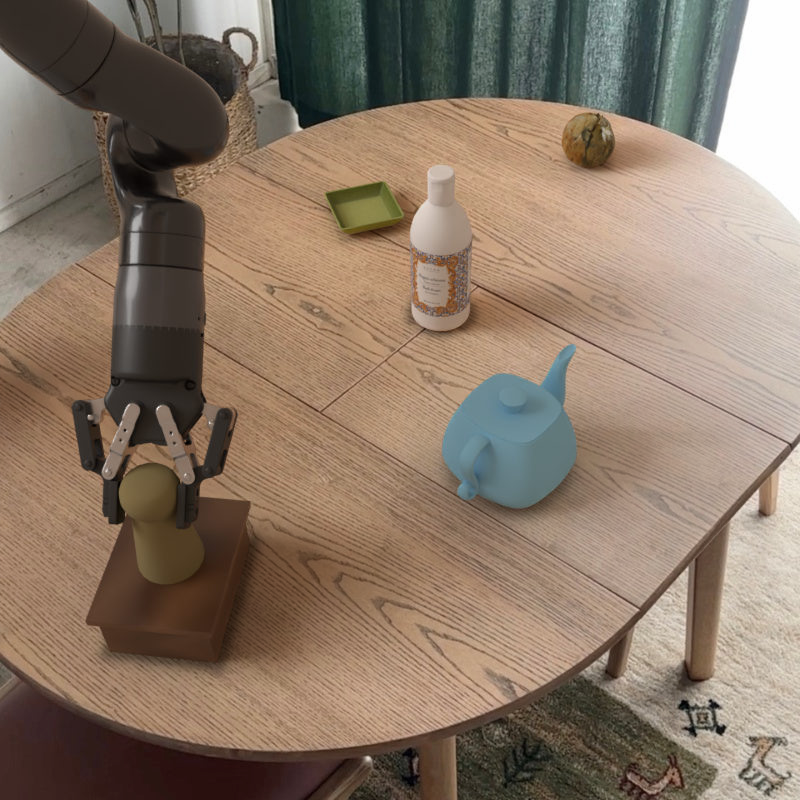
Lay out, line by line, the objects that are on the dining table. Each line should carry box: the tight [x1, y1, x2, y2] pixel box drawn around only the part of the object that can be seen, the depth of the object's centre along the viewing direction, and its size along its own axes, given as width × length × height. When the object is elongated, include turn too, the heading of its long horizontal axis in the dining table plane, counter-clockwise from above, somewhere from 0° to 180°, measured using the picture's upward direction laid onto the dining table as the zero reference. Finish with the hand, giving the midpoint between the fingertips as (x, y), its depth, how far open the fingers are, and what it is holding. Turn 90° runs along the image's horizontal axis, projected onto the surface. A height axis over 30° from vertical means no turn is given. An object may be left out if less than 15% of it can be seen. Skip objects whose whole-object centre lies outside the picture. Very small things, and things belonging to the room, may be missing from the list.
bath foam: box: [409, 164, 473, 332], centre depth 119 cm, size 7×7×20 cm
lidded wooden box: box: [84, 496, 252, 663], centre depth 98 cm, size 11×14×6 cm
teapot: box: [441, 343, 578, 509], centre depth 106 cm, size 13×11×18 cm
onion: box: [560, 111, 616, 169], centre depth 145 cm, size 8×8×8 cm
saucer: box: [323, 180, 405, 235], centre depth 139 cm, size 9×9×2 cm
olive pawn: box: [119, 462, 205, 584], centre depth 92 cm, size 6×6×11 cm
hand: (150, 524), depth 89 cm, fingers closed on olive pawn, 5 cm apart
